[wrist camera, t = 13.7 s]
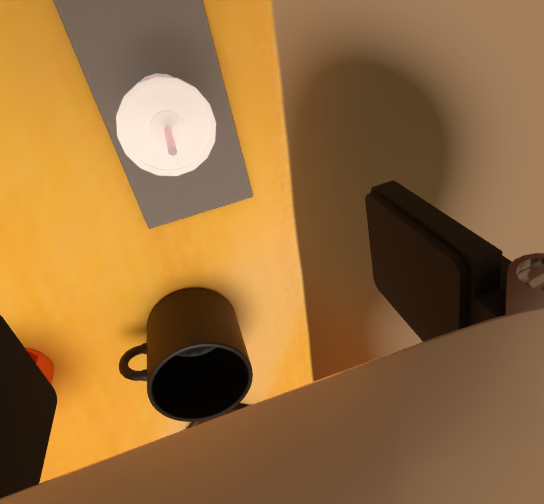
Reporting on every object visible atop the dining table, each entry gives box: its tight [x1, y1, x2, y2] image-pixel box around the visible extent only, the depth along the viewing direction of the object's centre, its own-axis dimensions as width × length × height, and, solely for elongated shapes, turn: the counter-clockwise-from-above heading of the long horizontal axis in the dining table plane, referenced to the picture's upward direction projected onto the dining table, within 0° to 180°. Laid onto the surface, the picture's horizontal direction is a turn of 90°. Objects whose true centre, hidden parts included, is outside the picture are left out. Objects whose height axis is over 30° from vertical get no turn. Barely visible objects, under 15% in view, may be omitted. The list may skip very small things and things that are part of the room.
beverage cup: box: [116, 73, 216, 176], centre depth 28 cm, size 6×6×14 cm
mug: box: [119, 288, 253, 422], centre depth 42 cm, size 9×12×9 cm
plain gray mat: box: [53, 0, 253, 229], centre depth 34 cm, size 20×10×1 cm, turn 13°
